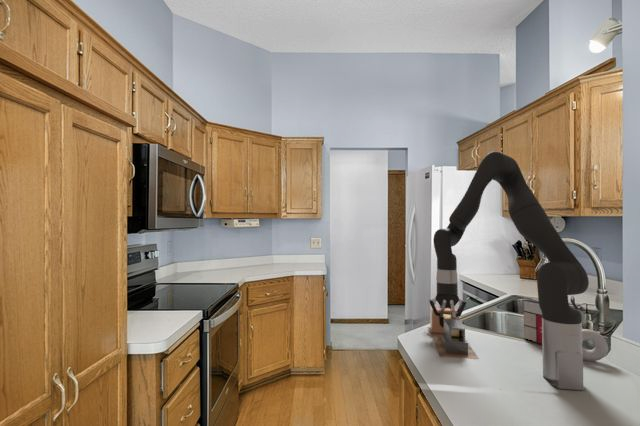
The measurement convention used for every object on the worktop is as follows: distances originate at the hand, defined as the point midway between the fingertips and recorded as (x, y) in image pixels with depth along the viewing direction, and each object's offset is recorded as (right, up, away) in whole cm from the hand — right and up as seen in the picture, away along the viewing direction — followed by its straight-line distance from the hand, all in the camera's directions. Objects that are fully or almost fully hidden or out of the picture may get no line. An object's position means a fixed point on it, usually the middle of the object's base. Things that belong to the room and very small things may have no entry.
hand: (447, 326), depth 137 cm
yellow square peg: (-1, +1, -4) cm, 4 cm away
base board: (-1, -5, -5) cm, 7 cm away
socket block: (+1, -4, +7) cm, 8 cm away
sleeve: (-2, -3, -13) cm, 13 cm away
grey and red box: (+33, -5, -4) cm, 33 cm away
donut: (+38, -5, -21) cm, 44 cm away
